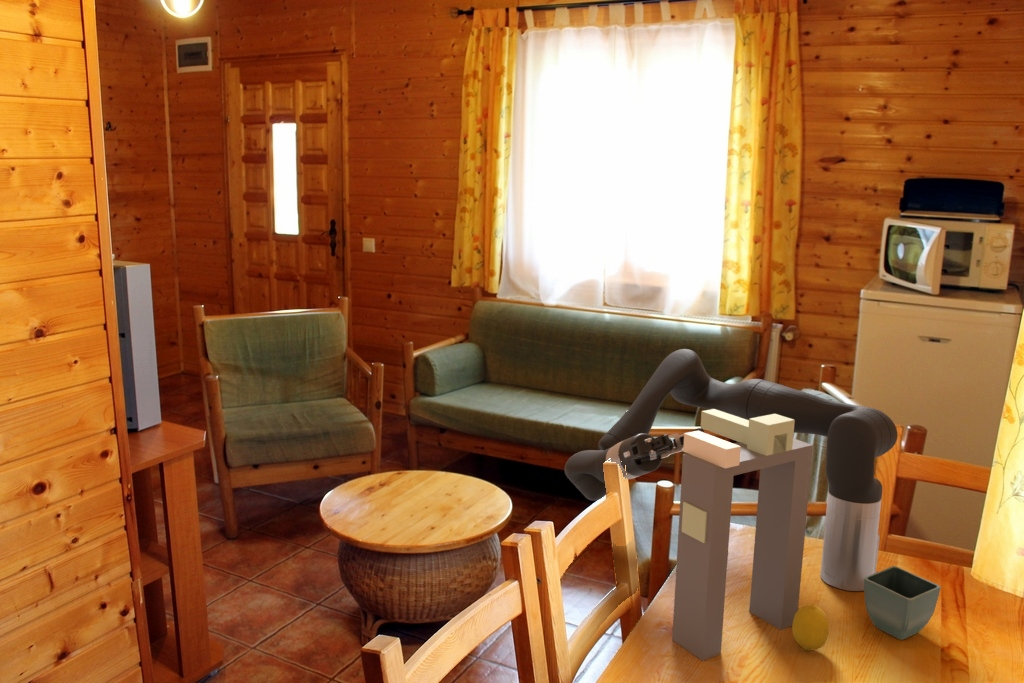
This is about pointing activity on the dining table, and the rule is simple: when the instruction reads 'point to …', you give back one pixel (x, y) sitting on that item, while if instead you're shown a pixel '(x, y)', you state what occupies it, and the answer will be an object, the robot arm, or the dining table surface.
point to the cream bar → (712, 449)
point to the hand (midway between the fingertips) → (685, 436)
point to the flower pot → (899, 601)
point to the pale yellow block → (752, 430)
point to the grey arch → (709, 541)
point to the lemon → (810, 627)
